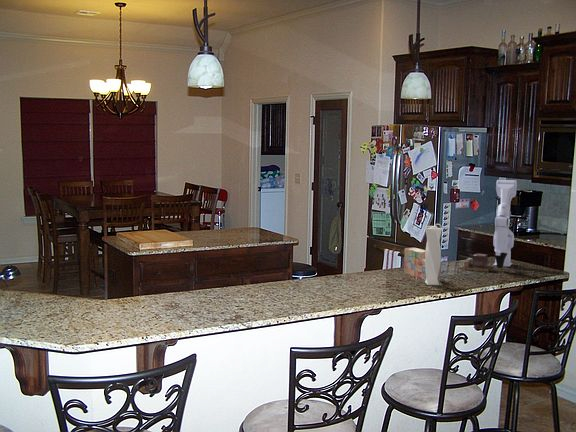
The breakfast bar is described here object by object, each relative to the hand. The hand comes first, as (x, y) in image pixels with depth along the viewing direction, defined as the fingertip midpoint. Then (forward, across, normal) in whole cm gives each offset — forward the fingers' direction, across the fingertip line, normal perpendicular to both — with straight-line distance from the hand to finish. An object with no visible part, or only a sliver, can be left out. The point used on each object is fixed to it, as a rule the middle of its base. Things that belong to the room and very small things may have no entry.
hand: (500, 267), depth 319 cm
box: (+2, 0, +10) cm, 10 cm away
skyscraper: (+2, -44, +21) cm, 49 cm away
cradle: (+2, 0, +10) cm, 10 cm away
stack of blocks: (+2, -32, +30) cm, 44 cm away
